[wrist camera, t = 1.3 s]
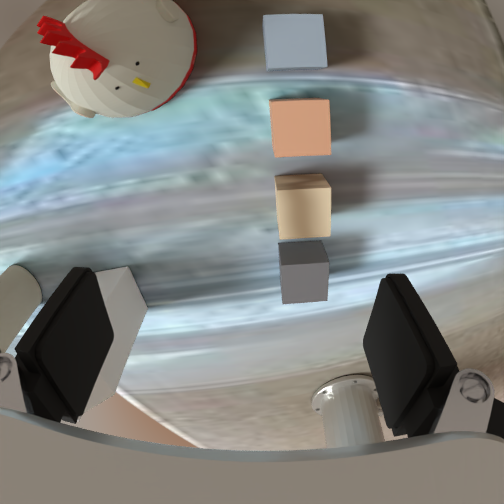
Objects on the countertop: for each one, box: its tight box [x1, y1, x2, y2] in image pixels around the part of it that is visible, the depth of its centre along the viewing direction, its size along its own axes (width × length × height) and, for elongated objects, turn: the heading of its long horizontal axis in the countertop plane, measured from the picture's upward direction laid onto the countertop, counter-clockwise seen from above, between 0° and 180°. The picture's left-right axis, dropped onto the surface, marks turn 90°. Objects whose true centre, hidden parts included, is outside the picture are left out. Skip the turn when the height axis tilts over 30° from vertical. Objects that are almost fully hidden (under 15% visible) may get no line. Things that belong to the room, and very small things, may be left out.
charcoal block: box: [278, 240, 329, 304], centre depth 36 cm, size 5×5×5 cm
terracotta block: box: [269, 98, 331, 157], centre depth 28 cm, size 5×5×5 cm
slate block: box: [262, 14, 327, 71], centre depth 24 cm, size 5×5×5 cm
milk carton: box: [77, 266, 148, 421], centre depth 33 cm, size 7×7×19 cm
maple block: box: [275, 174, 331, 240], centre depth 32 cm, size 5×5×5 cm
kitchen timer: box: [37, 0, 197, 118], centre depth 20 cm, size 14×14×15 cm
